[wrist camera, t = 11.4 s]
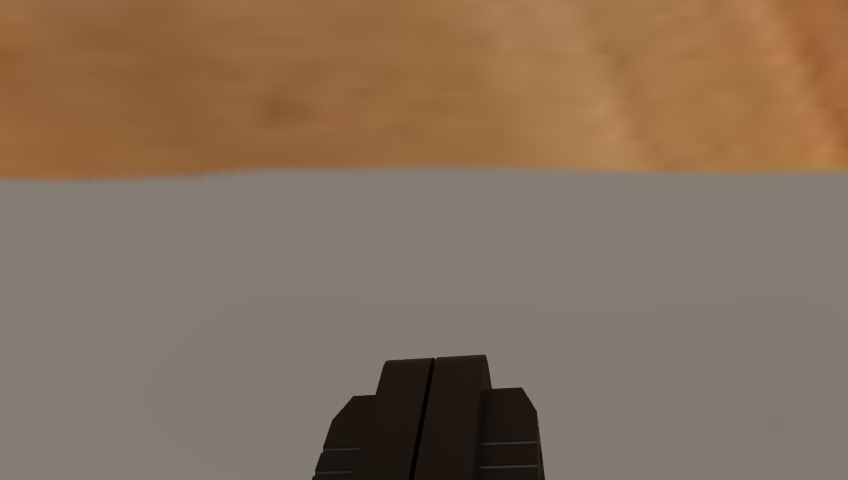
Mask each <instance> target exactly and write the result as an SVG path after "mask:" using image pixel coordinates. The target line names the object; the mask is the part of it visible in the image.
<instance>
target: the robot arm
mask: <svg viewBox="0 0 848 480" xmlns="http://www.w3.org/2000/svg"><path fill="white" fill-rule="evenodd" d="M312 480H545V475H544V468H543V459H542V451H541V442H540V434H539V427H538V418H537V411H536V409H535V408H534V406H533V405H532V403H531V401H530V400H529V398H528V397H527V395H526V393H525V392H524V390H523V389H522V388H503V389H492V386H491V380H490V373H489V368H488V362H487V358H486V355H471V356H455V357H438V358H436V360H435V358H423V359H406V360H389V361H386V362H385V364H384V366H383V370H382V373H381V377H380V380H379V384H378V388H377V391H376V395H366V396H353V397H352V398H351V400H350V401H349V402H348V403H347V404H346V405H345V406H344V408H343V409H342V410H341V411H340V412H339V413H338V414H337V416H336V417H335V418H334V419H333V420H332V423H331V425H330V428H329V432H328V434H327V437H326V440H325V443H324V446H323V453H321V455H320V458H319V460H318V463H317V466H316V469H315V476H313V478H312Z"/></svg>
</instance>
